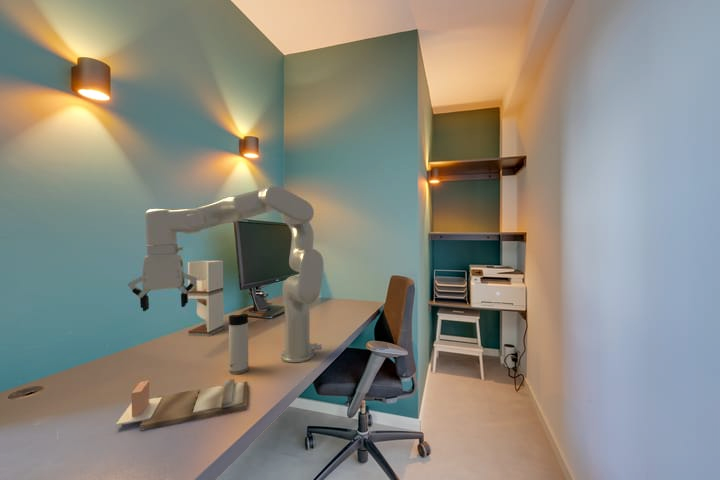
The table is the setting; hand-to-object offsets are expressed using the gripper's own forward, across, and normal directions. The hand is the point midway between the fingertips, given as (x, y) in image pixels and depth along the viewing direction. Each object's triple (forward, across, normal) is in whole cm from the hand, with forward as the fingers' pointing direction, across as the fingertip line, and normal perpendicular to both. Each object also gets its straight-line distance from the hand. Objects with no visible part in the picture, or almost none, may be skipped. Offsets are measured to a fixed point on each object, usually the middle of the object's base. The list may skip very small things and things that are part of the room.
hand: (165, 308), depth 87 cm
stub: (+24, +4, +11) cm, 27 cm away
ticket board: (+26, -10, +11) cm, 30 cm away
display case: (+26, -4, -59) cm, 65 cm away
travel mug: (+26, -19, -8) cm, 34 cm away
